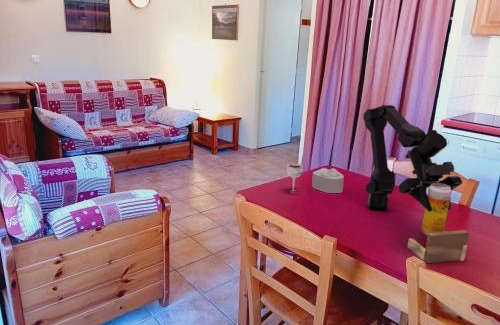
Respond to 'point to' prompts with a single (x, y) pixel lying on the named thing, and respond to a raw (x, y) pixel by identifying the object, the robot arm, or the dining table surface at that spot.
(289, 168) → the wineglass
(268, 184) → the dining table surface
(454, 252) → the shelf
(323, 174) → the grey lumpy block
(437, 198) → the beer can
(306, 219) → the dining table surface
